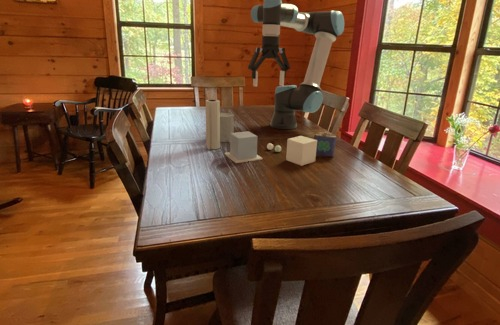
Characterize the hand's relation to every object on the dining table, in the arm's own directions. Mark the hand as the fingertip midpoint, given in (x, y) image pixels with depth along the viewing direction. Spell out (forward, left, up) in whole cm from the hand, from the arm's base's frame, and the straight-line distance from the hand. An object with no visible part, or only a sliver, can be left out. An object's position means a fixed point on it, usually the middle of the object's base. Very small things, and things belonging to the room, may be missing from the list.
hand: (268, 86), depth 149 cm
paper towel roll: (+27, -1, -27) cm, 38 cm away
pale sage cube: (+19, +15, -26) cm, 36 cm away
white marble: (+4, +11, -26) cm, 29 cm away
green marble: (+2, +15, -27) cm, 30 cm away
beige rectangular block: (-1, +28, -27) cm, 39 cm away
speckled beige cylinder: (+17, -12, -27) cm, 34 cm away
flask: (-14, +26, -27) cm, 40 cm away
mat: (+19, +15, -27) cm, 36 cm away
